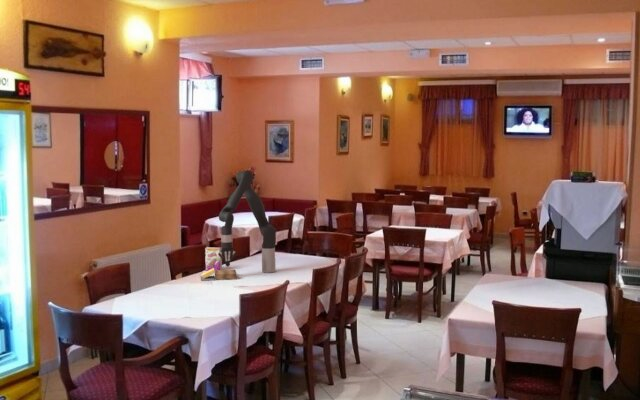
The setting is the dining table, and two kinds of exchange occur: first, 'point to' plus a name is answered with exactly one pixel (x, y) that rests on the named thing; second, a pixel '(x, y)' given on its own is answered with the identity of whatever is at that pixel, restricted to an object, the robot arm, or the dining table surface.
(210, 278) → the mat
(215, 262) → the candy bar box
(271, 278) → the dining table surface
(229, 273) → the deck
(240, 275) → the dining table surface
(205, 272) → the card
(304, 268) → the dining table surface
